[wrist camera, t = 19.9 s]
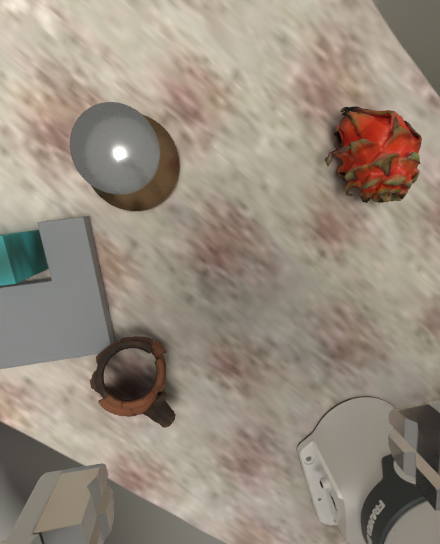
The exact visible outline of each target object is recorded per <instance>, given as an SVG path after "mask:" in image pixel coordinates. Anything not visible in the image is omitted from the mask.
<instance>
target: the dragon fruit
mask: <svg viewBox="0 0 440 544" xmlns="http://www.w3.org/2000/svg"><path fill="white" fill-rule="evenodd" d="M344 111H345V112H344ZM341 112H344V113H343V114H342V115H344V117H343V119H342V120H341V122H340V124H339V125H338V127H337V129H336V131H335V133H334V135H335V136H336V139H337V144H338V146H339V148H338V149H337V150H335V151H333V152H332V153H331V152H330V153H329V155H328V157H327V158H326V159H325V161H326V164H327V166H329V165H330V163H331V161H332V158H333V156H336V157H338V158H340V159H341V160H342V161H343V162H344V164H343V165H342V166H340V167H339V168H338V171H337V175H338V176H340V177H341V178H343V179H345V180H347V181H349V183H348V184H347V185H346V187H345V193H346V195H347V196H353V195H352V194H348V190H349V189H350V188H353V187H357V188H360V189H361V190H362V191H361V193H360V197H361V200H362V201H363V202H366V203H368V202H367V201H369V200H370V199H372V200H373V201H374V202H379V203H380V202H389V201H401V200H402V199H403V198H404V197H405V196H406V194H407V193H408V189H409V188H410V187H411V185H412V183H414V182H415V181H416V180H417V178H418V175H419V170H418V169H416V168H417V166H418V165H419V164H420V158H419V155H418V152H419V149H420V146H421V140H422V138H421V136H420V134H418V133H417V132H416V131H415V130H414V129H413V128H412V127H411V125H410V124H409V123H408V122H407V121H404V120H403V118H402V117H401V116H400V115H398V114H397V113H396V112H395V111H390V110H389V111H388V110H386V111H373V110H369V109H362V108H360V107H350V108H349V107H344V108H343V109H342V110H341ZM334 120H335V119H334ZM340 135H341V136H340ZM341 139H342V141H343V147H341V148H340V144H341ZM339 142H340V144H339ZM345 173H346V174H345Z"/></svg>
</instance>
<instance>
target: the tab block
mask: <svg viewBox="0 0 440 544" xmlns="http://www.w3.org/2000/svg"><path fill="white" fill-rule="evenodd" d="M47 269H49V267H48V263H47V259H46V255H45V251H44V247H43V243H42V240H41V236H40V232H39V230H35V231H27V232H18V233H10V234H2V235H0V286H2V285H9V284H16V283H18V282H20V281H23V280H25V279H27V278H29V277H31V276H34V275H36V274H38V273H40V272H42V271H45V270H47Z"/></svg>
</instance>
